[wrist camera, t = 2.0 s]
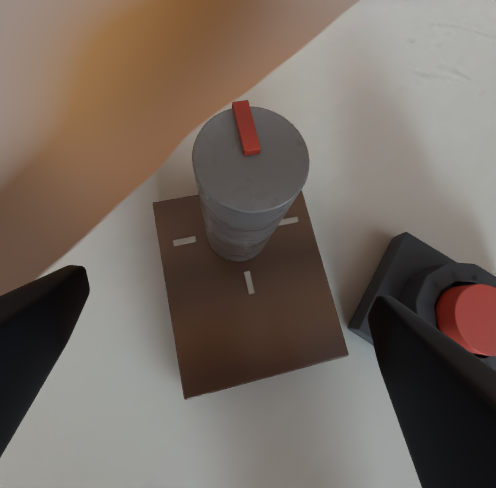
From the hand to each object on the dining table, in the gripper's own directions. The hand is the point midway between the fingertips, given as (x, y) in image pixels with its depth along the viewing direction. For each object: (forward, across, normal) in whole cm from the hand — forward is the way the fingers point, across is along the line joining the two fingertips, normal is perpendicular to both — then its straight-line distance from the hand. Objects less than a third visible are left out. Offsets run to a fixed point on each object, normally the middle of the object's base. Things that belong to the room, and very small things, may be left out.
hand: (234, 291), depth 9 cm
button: (+6, -15, +5) cm, 17 cm away
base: (+9, -1, +7) cm, 11 cm away
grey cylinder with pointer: (+9, 0, +3) cm, 10 cm away
